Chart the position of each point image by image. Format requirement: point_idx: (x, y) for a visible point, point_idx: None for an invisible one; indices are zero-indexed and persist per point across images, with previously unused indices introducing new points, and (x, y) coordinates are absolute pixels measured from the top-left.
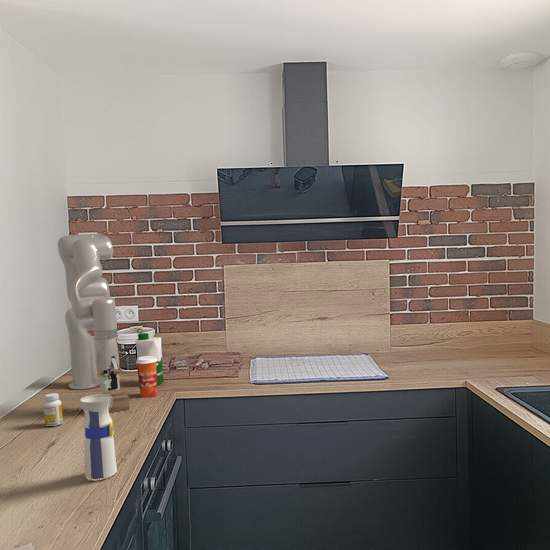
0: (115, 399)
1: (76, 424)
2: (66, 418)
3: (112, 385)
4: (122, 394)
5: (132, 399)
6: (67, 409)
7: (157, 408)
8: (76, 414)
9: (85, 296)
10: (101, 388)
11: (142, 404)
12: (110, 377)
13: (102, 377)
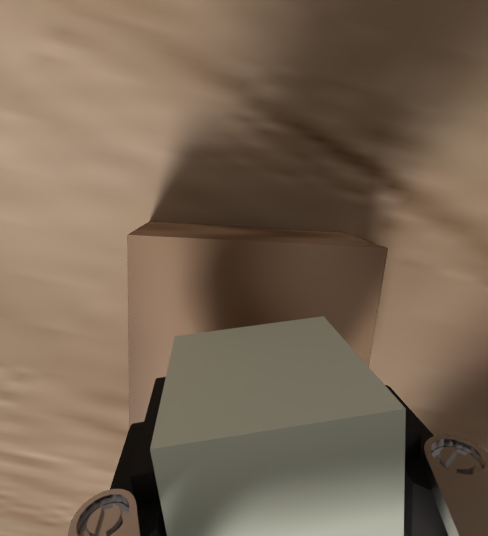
0: (130, 371)
1: (26, 27)
2: (232, 4)
3: (129, 443)
4: None
5: None
6: (452, 75)
7: None
8: (285, 97)
9: None
10: (286, 330)
11: None
12: (75, 527)
13: (245, 424)
